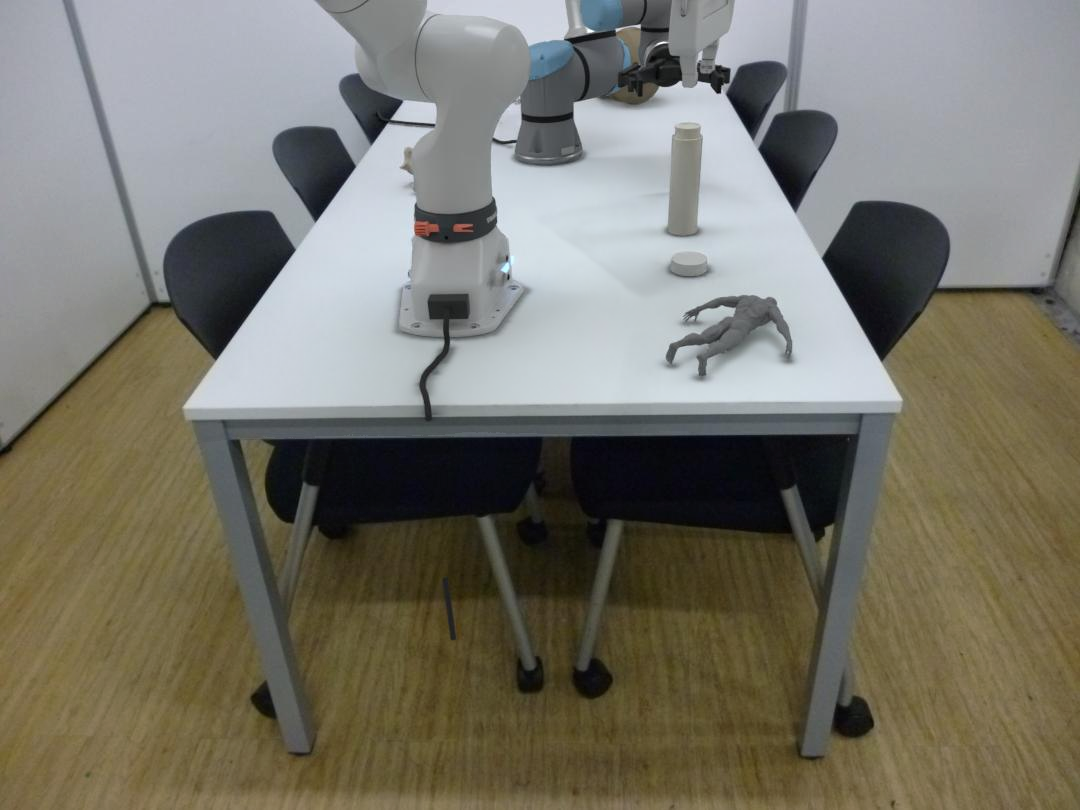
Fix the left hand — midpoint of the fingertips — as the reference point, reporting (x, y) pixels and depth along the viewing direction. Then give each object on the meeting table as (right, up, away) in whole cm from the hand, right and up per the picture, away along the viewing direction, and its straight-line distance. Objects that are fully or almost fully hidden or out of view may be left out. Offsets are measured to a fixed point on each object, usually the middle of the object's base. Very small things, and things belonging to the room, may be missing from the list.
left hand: (698, 79), depth 116 cm
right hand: (+2, +10, +28) cm, 30 cm away
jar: (+3, -15, +31) cm, 34 cm away
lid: (+1, -22, +16) cm, 27 cm away
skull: (+2, +40, +116) cm, 123 cm away
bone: (-46, 0, +57) cm, 73 cm away
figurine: (+3, -37, -5) cm, 38 cm away
